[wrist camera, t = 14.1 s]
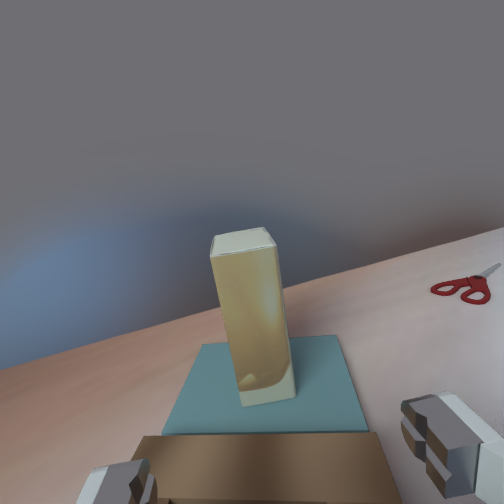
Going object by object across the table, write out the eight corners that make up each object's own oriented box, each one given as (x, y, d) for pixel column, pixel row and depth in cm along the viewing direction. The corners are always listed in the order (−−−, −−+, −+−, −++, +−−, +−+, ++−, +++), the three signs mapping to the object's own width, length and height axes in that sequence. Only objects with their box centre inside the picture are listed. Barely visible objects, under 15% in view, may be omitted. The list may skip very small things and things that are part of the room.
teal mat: (164, 441, 18) (161, 433, 18) (204, 350, 28) (202, 344, 28) (368, 439, 16) (368, 430, 16) (336, 341, 26) (335, 334, 25)
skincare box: (238, 355, 25) (213, 234, 21) (282, 347, 25) (263, 225, 22) (241, 413, 19) (206, 254, 15) (299, 401, 19) (277, 241, 15)
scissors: (427, 295, 32) (427, 288, 32) (476, 263, 38) (476, 256, 38) (481, 310, 28) (482, 302, 27) (527, 271, 34) (528, 264, 34)
